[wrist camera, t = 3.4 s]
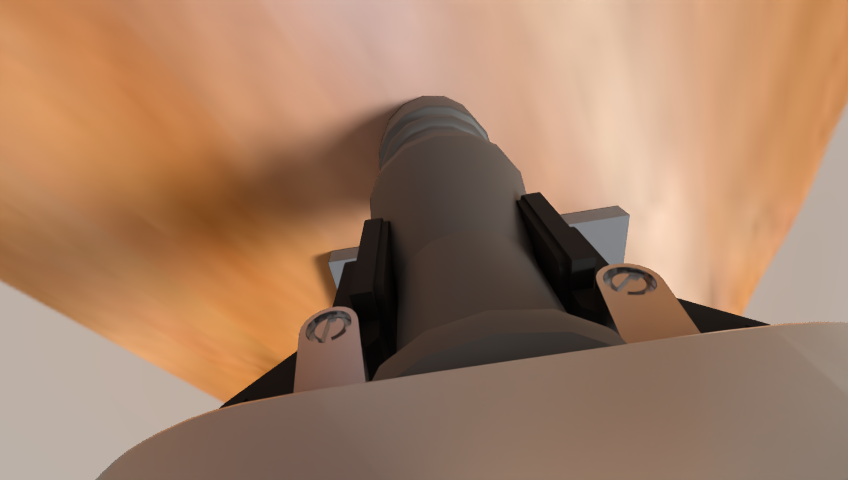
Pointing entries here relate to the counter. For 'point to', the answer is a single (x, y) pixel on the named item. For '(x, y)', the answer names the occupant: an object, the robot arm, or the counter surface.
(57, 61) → the counter surface
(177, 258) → the counter surface
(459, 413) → the robot arm
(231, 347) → the counter surface
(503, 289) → the candle holder
